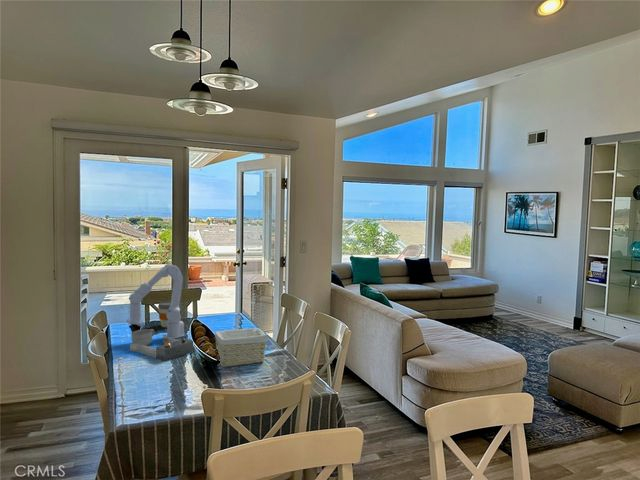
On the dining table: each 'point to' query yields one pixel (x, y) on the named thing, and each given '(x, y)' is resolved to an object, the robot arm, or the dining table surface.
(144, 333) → the teacup
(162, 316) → the reusable coffee cup
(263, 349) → the storage basket
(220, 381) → the dining table surface
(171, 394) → the dining table surface
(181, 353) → the motor block
